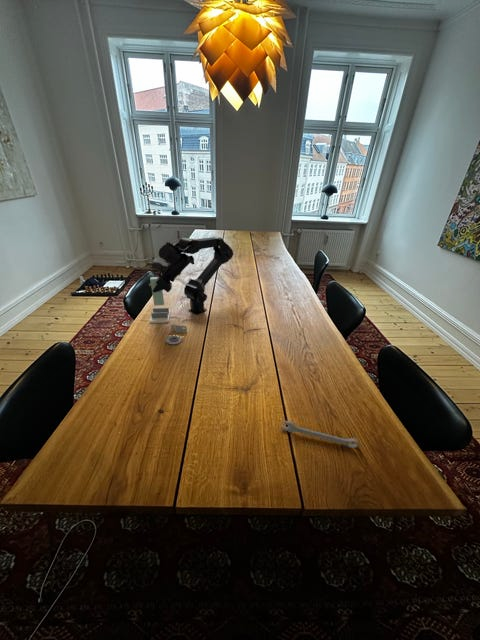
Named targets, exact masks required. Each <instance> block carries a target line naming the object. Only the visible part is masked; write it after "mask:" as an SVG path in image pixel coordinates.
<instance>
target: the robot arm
mask: <svg viewBox="0 0 480 640" xmlns="http://www.w3.org/2000/svg"><path fill="white" fill-rule="evenodd" d="M209 248H210V249H211V248H213V251H214V252H213V258H212V260H210V262H209V263H208V264H207V266H206V267H205V268H204V270H203V271H202V272H201V273H200V274H199V276H198V277H197V278H195V279H192V278H190V279H189V280H188V282H187V283H186V284H185V286H184V289H183V291H184V292H183V294H184V295H185V296H186V298H187V299H189V306H190V308H188V309H187V310H188V312H191V313H193V314H194V315H197V316H198V315H199V314H201V313H204V312H206V311H207V308H205V301H207V299H208V294H206V293H205V291H206V286H207V284H208V283H209V281H210V280H211V279H212V278H213V276H214V275H215V274H216V272H217V271H218V270H219V269H220V268H221V266H222V265H224V264H226V263H228V262H229V261H230V260H231V259H232V258H233V255H234V251H233V249H232V248H231V246H230V245H228V244H227V242H226V241H225V240H224V239H223V238H222V237H219V236H215V235H214V236H211V237H204V238H197V239H196V238H190V237H189V238H188V237H181V238H180V239H179V241H177V242H175V243H174V244H173V243H171V242H169V241H166V243H165V244H164V245H162V246H161V247H159V250H158V256H159V258H160V259H159V258H156V257H154V258H153V260H152V264H151V266H150V268H151V269H152V270H156V271H158V272H159V273H158V276H156V277H157V281H156V284H157V285H156V286H155V288H154V289H153V292H154V293H155V292H158V291H161V290H163V291H164V292H165V293H170V291H171V290H172V288H173V284H172V283H174V282H175V280H176V278H177V277H178V276H181V274H182V273H183V271H184V270H186V268H187V267H188V266H189V265H190V264H191V265H195V258H194V256H193V255H194V254H196V253H199V252H200V250H203V249H209ZM188 254H189V255H188ZM190 254H191V255H190ZM161 259H162V260H161ZM158 277H159V278H158Z"/></svg>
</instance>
